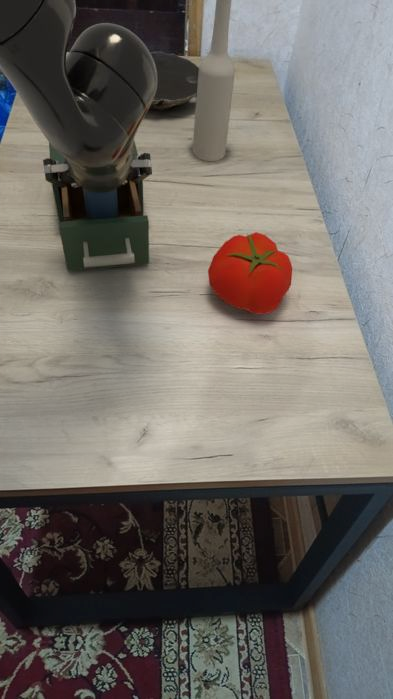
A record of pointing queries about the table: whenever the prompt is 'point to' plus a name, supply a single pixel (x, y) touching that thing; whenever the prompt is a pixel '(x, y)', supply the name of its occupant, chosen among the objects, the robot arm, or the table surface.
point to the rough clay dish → (174, 81)
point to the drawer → (104, 232)
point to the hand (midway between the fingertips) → (98, 182)
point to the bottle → (214, 91)
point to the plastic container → (101, 204)
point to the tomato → (251, 273)
